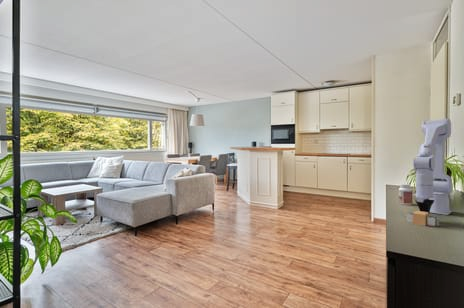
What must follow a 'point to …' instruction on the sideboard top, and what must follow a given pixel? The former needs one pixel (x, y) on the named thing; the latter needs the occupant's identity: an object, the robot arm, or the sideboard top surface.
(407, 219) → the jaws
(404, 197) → the pill bottle
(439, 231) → the sideboard top surface
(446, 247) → the sideboard top surface
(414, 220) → the orange block
